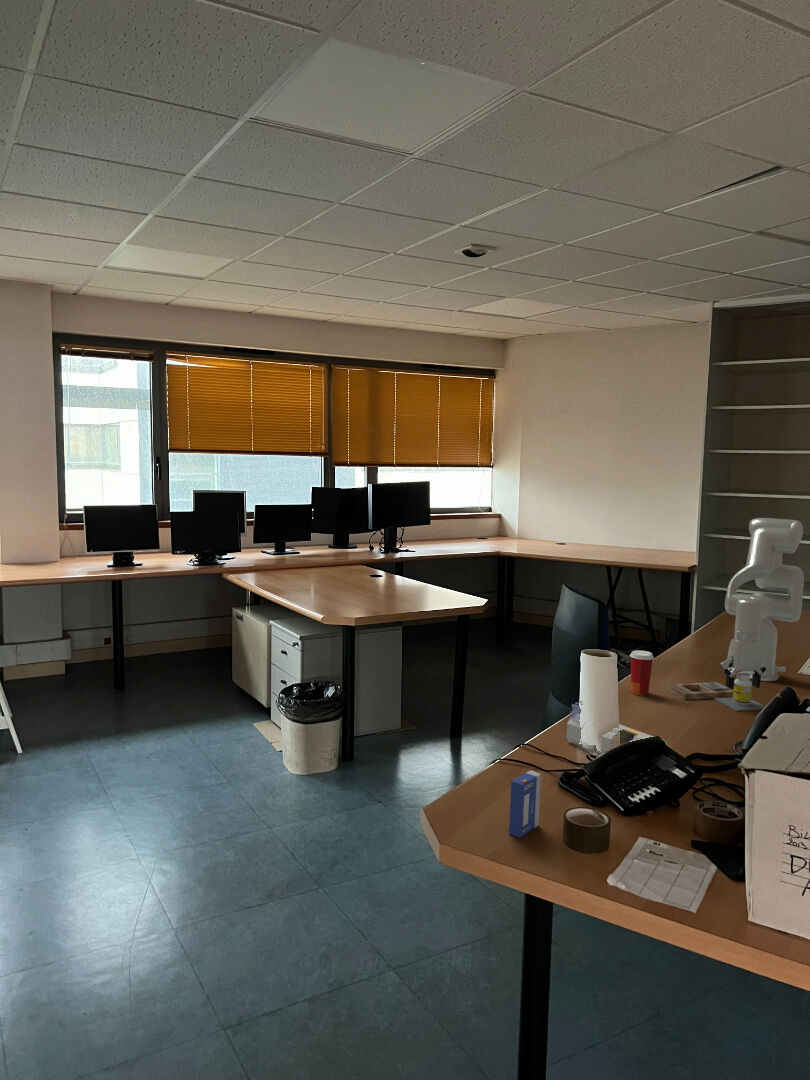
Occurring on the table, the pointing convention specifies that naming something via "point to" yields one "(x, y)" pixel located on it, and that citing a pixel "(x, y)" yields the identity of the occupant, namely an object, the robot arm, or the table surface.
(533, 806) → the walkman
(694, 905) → the table surface
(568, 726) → the diorama
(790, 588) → the robot arm
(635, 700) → the table surface
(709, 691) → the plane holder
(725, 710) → the table surface
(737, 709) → the rubber mat
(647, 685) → the paper cup
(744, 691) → the supplement bottle
